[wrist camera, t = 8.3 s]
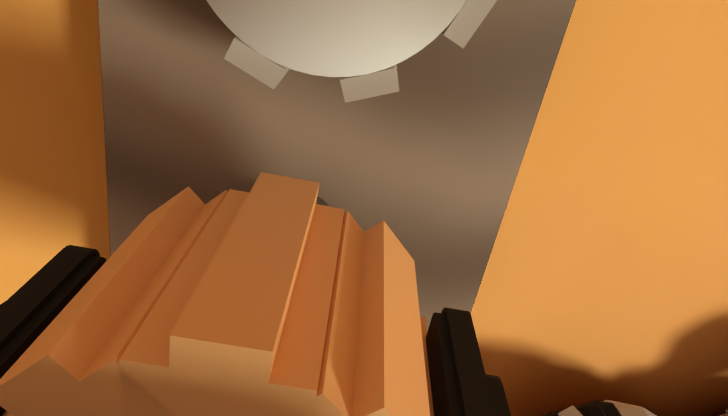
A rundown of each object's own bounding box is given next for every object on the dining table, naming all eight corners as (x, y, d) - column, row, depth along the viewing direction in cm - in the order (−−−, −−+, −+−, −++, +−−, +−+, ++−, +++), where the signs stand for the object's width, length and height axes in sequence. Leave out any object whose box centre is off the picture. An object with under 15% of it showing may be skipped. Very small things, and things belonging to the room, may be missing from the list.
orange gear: (117, 147, 10) (-88, 294, 6) (457, 207, 11) (512, 389, 6) (126, 398, 13) (-4, 621, 9) (390, 438, 14) (394, 672, 9)
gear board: (114, -343, 12) (-87, -563, 7) (630, -229, 12) (799, -351, 7) (136, 429, 23) (67, 563, 18) (405, 470, 23) (411, 610, 18)
